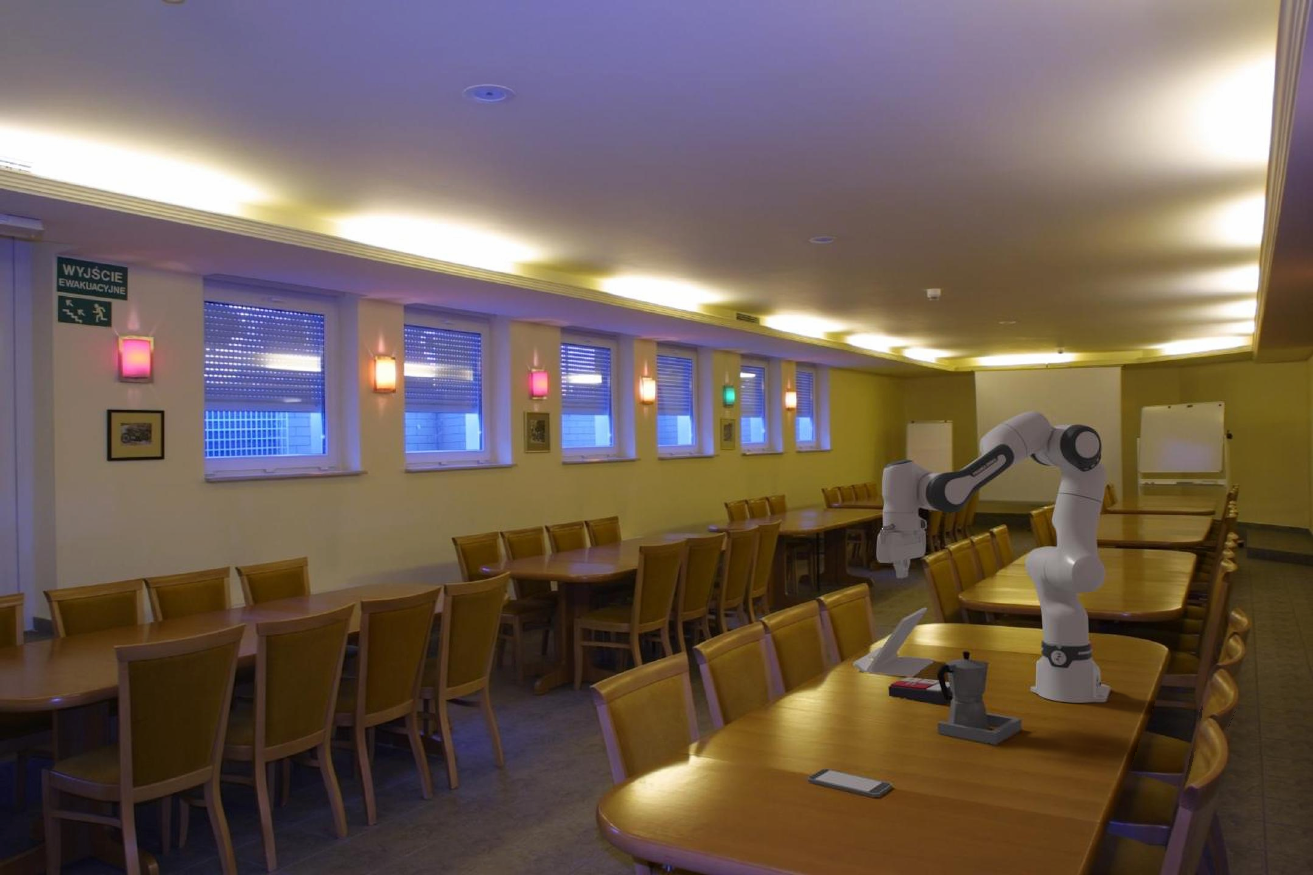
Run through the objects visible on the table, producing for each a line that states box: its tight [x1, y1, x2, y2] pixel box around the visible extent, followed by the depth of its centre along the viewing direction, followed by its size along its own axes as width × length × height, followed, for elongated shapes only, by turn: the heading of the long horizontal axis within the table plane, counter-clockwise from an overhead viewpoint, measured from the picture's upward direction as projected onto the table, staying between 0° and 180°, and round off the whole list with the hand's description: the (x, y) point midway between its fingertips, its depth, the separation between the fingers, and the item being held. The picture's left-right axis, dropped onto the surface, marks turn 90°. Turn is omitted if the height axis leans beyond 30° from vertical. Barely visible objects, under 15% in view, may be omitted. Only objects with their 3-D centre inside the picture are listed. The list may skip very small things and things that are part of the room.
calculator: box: [888, 677, 953, 706], centre depth 241 cm, size 11×4×15 cm
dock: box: [937, 712, 1023, 746], centre depth 209 cm, size 15×14×2 cm
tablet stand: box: [853, 607, 936, 677], centre depth 277 cm, size 18×25×17 cm
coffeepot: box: [936, 650, 990, 730], centre depth 211 cm, size 15×9×18 cm, turn 115°
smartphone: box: [807, 768, 893, 798], centre depth 176 cm, size 7×1×15 cm
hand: (902, 577), depth 231 cm, fingers closed
